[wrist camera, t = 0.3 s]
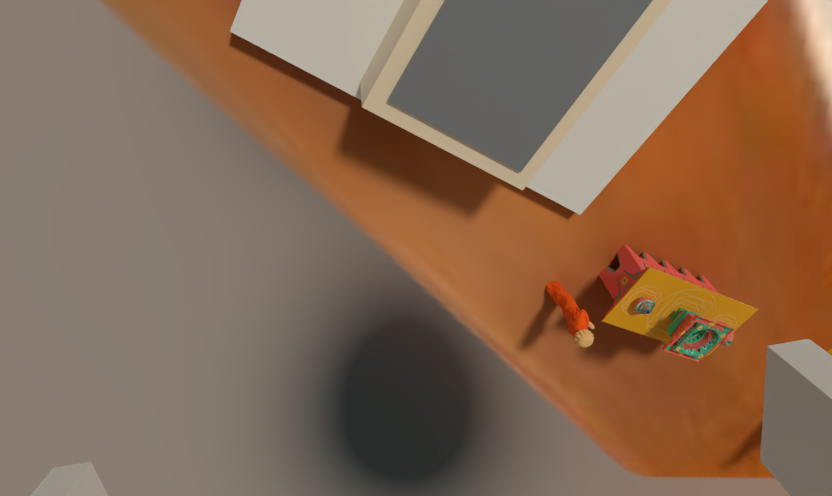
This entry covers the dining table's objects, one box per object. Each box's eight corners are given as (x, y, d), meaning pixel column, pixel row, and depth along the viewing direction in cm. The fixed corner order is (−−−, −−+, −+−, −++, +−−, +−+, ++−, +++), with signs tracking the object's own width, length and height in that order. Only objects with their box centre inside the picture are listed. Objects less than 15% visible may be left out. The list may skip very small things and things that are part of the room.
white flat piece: (389, -377, 22) (399, -430, 18) (775, -24, 32) (839, -5, 28) (233, 26, 30) (214, 54, 26) (575, 207, 40) (602, 249, 36)
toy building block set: (802, 389, 57) (914, 522, 46) (532, 300, 46) (593, 450, 34) (907, 308, 51) (1066, 438, 40) (625, 181, 39) (738, 314, 28)
